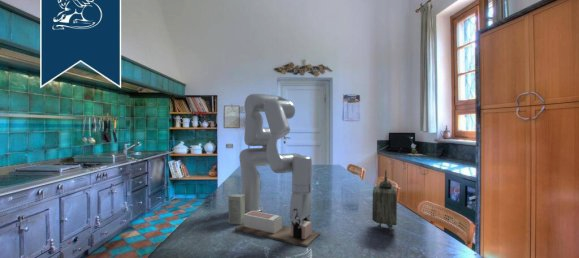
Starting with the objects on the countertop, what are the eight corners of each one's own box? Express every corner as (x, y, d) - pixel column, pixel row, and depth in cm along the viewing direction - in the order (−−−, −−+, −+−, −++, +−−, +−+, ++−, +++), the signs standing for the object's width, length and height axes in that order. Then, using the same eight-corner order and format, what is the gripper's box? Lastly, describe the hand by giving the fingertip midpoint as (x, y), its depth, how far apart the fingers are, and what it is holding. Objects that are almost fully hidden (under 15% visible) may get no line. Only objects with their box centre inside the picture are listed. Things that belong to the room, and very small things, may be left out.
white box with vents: (243, 226, 112) (243, 214, 112) (252, 222, 117) (252, 210, 117) (274, 233, 105) (274, 220, 105) (281, 228, 110) (281, 215, 110)
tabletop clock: (396, 237, 104) (397, 173, 104) (372, 234, 107) (372, 171, 107) (395, 225, 117) (396, 168, 117) (373, 222, 121) (374, 167, 120)
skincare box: (245, 221, 120) (245, 194, 120) (240, 225, 116) (240, 196, 116) (232, 220, 122) (233, 193, 122) (227, 223, 118) (227, 195, 118)
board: (235, 229, 110) (235, 227, 110) (252, 220, 121) (252, 219, 121) (307, 247, 95) (307, 244, 95) (319, 235, 106) (319, 233, 106)
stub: (290, 236, 102) (290, 223, 101) (297, 230, 107) (297, 219, 107) (305, 239, 99) (305, 226, 99) (311, 233, 104) (311, 221, 104)
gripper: (302, 182, 112) (302, 225, 112) (282, 191, 97) (281, 241, 97) (319, 184, 108) (318, 229, 109) (300, 194, 93) (300, 245, 93)
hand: (301, 234), depth 103 cm, fingers closed on stub, 6 cm apart
